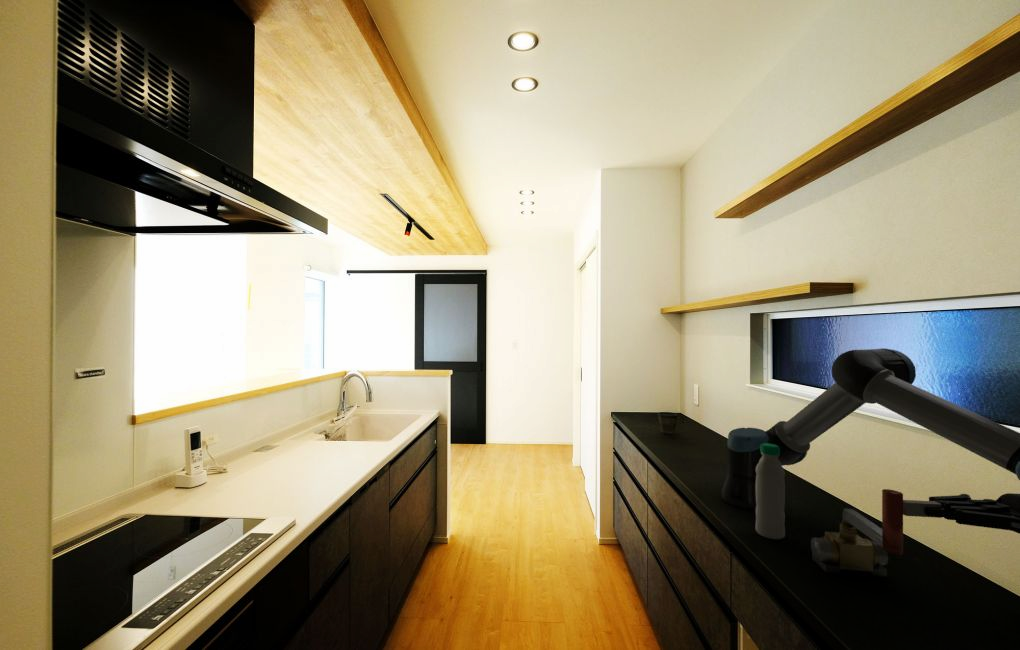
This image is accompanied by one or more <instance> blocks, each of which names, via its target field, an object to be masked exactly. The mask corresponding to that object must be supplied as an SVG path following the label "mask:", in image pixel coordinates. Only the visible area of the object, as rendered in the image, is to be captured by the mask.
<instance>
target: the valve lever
mask: <svg viewBox="0 0 1020 650" xmlns="http://www.w3.org/2000/svg"><path fill="white" fill-rule="evenodd" d="M881 495H882V496H881V504H882V505H881V508H882V509H881V511H882V512H881V514H882V515H881V520H882V521H881V523H882V524H881V527H879V526H878V525H876V524H875V523H874V522H872V520H869V519H868V518H866V516H863V514H860V513H859V512H858V511H856V510H855V509H853V508H843V511H842V513H841V515H842V521H841V523H842V524H843V525H844V526H846V527H851V528H852V527H856V528H857V531H859V532H861V533H862V534H864V535H865V536H867V537H868V539H869V540H870V539H871V541H874V542H876V543H877V544H878V545H880V546H881V547H882V548H883V549H884V550H885V551H887V553H890V554H893V555H903V554H904V515H903V500H904V493H902V492H901V491H898V490H894V489H889V488H884V489H881Z"/></svg>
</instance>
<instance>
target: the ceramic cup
mask: <svg viewBox="0 0 1020 650" xmlns="http://www.w3.org/2000/svg"><path fill="white" fill-rule="evenodd" d="M657 415H658V417H657V418H658V423H659V428H660V432H661V433H664V434H674V433H675V430H676V427H677V426H678V425H680V424H681V423H682V422H683V417H682V416H678V413H675V412H670V411H669V412H668V411H661V412H660V411H659V412H658V413H657ZM679 418H680V419H681V420H680V421H679V422H677V420H678V419H679Z"/></svg>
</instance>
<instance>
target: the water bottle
mask: <svg viewBox="0 0 1020 650" xmlns="http://www.w3.org/2000/svg"><path fill="white" fill-rule="evenodd" d="M760 451H761V454H762V458H761V459H760V460H759V463H758V464H757V466H756V510H755V523H754V524H755V531H756V533H757V534H759V535H760V536H762V537H764V538H767V539H770V540H782V539H784V538H785V537H786V527H785V522H786V521H785V520H786V515H785V506H786V505H785V504H786V503H785V502H786V486H785V485H786V484H785V476H786V472H785V469H784V468H783V466H781V463H780V461H779V460H778V456H780V455H779V454H780V447H779V446H777V445H774V444H768V443H764V444H761V446H760Z"/></svg>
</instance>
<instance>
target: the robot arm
mask: <svg viewBox="0 0 1020 650" xmlns="http://www.w3.org/2000/svg"><path fill="white" fill-rule="evenodd" d="M916 370H917V369H916V367H915V363H914V362H913V360H912V359H910V357H909V356H907V354H905V353H903V352H901V351H898V350H896V349H889V348H873V349H872V348H871V349H851V350H848V351H845V352H843V353H841V354H839V355H838V356H837V357H836V358H835V359H834V361H833V362H832V366H831V376H832V378H833V380H834V384H832V385H831V386H829V387H828V388H827V389H826V390H824V392H822V393H821V394H820V395H818V396H817V397H816V398H814V399H813V400H812V401H811V402H810V403H808V404H807V405H806V406H804V407H803V408H802V409H801V410H800V411H798V412H797V413H796V414H795V415H793V416H792V417H791V418H790V419H789V420H787V421H786V420H785V421H783V420H782V421H781V420H779V421H778V422H777V423H776V424H774V425H773V426H771V427H770V428H769V429H767V430H763V429H760V428H757V427H738V428H735V429H731V430H730V431H729V433H728V435H727V441H726V446H727V476H726V479H725V481H724V483H723V487H722V488H721V489H722V490H721V497H722V500H723V501H725V502H726V503H728V504H730V505H733V507H737V508H740V509H745V510H751V511H756V466H757V464H758V463H759V460H760V459H761V458H762V454H761V451H760V446H761V444H764V443H768V444H774V445H777V446H779V447H780V454H779V455H780V456H778V460H779V461H780V463H781V466H782V467H783V466H792V465H796V464H798V463H800V462H802V461H803V460H804V459H805V458H806V457H807V455H808V451H809V450H810V448H811V443H812V442H813V441H814V440H816V439H817V438H818V437H820V436H821V435H823V434H824V433H825V432H827V431H828V430H830V429H831V428H833V427H834V426H835V425H837V424H838V423H840V422H841V421H842V420H844V419H845V418H847V417H848V416H849V415H851V414H852V413H854V412H855V411H857V410H858V409H859V408H861V407H862V406H863V405H865V404H872V405H873V404H878V405H879V406H882V407H883V408H886V409H887V410H890V411H891V412H894V413H895V414H898V415H899V416H901V417H903V418H905V419H907V420H908V421H910V422H913V423H915V425H919V426H921V427H923V428H925V429H926V430H928V431H931V432H933V433H934V434H935V435H939V436H940V437H942V438H944V439H946V440H948V441H950V442H951V443H954V444H955V445H958V446H959V447H961V448H964V449H965V450H967V451H969V452H971V453H973V454H975V455H978V456H979V457H981V458H982V459H985V460H986V461H989V462H991V463H992V464H995V465H997V466H998V467H1001V468H1003V469H1004V470H1006V471H1008V472H1010V473H1012V474H1014V475H1016V477H1017V479H1018V481H1020V432H1019V431H1017V430H1013V429H1012V428H1009V427H1007V426H1006V425H1003V424H1000V423H998V422H996V421H994V420H993V419H992V420H991V419H989V418H987V417H985V416H982V415H980V414H979V413H976V412H974V411H972V410H969V409H967V408H965V407H963V406H960V405H958V404H957V403H954V402H951V401H949V400H947V399H945V398H943V397H940V396H938V395H936V394H934V393H931V392H929V391H927V390H925V389H922V387H921V388H920V387H918V386H916V385H914V381H915V380H916V378H917V374H916ZM903 516H904V517H905V516H906V517H920V518H922V517H923V518H934V519H936V518H937V519H942V518H944V519H945V520H948V521H955V523H957V524H959V525H964V526H971V527H981V528H988V529H997V530H1005V531H1010V532H1014V533H1017V534H1020V493H1011V492H1009V493H1004V494H1001V495H1000V496H999V497H998V498H997V499H992V498H991V499H990V498H984V499H972V497H971V496H970V494H968V493H961V494H958V495H957V494H956V495H939V496H938V495H936V496H934V495H933V496H929V497H928V500H916V499H915V500H910V499H903Z"/></svg>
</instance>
